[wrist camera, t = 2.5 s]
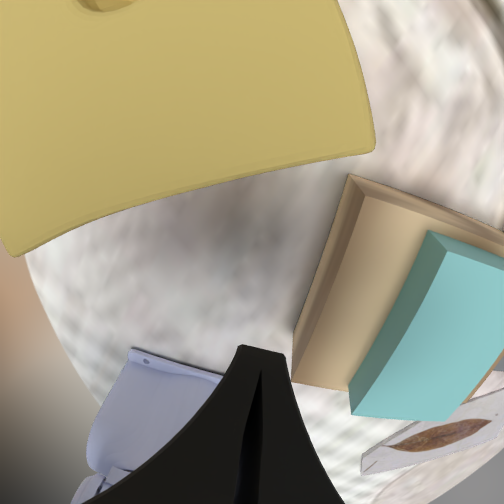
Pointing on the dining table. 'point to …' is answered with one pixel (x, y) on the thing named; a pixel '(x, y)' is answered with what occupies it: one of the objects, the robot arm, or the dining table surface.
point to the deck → (369, 277)
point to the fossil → (438, 435)
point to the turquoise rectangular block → (434, 335)
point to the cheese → (164, 102)
